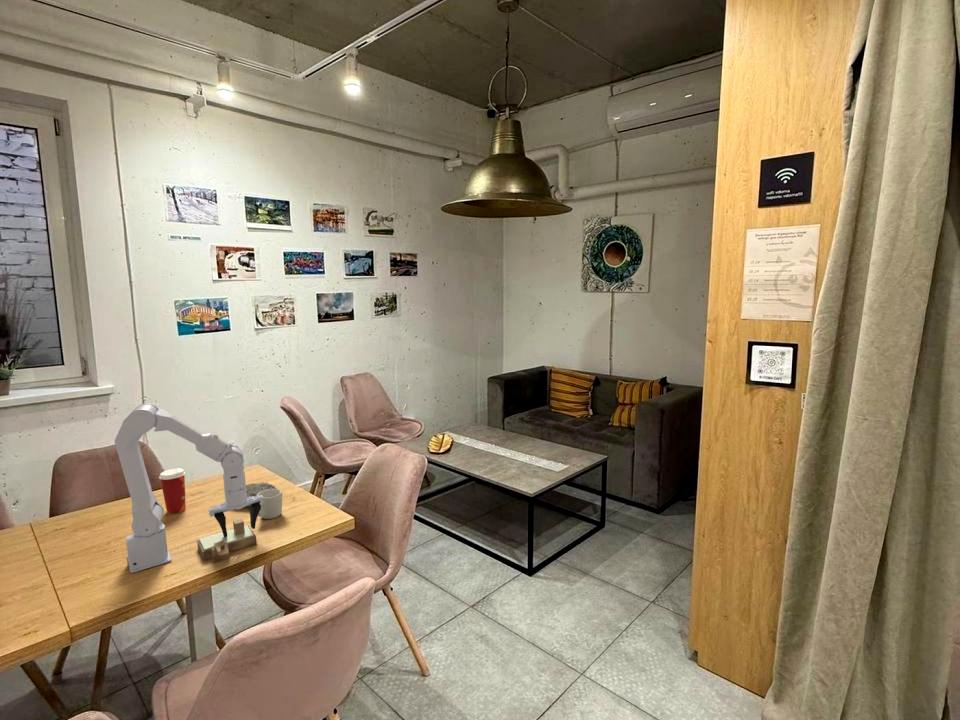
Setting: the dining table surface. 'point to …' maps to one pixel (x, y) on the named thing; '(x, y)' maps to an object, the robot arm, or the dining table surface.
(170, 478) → the paper cup
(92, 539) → the dining table surface
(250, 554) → the dining table surface
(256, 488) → the rock
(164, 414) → the robot arm
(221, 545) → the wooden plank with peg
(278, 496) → the cup
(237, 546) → the wooden tray
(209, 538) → the lid
